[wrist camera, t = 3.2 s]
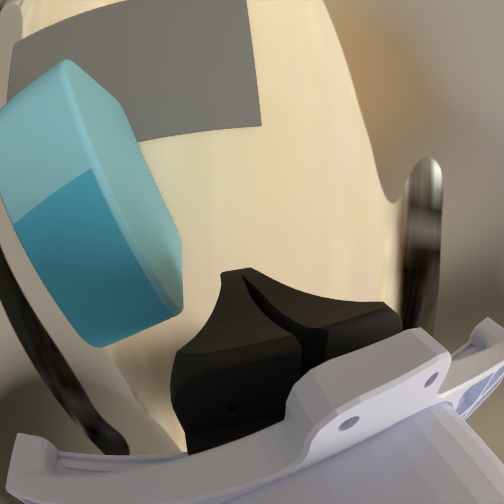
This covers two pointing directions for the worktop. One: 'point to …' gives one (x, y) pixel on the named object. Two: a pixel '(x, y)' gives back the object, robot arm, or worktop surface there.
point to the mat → (156, 62)
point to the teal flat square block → (88, 207)
